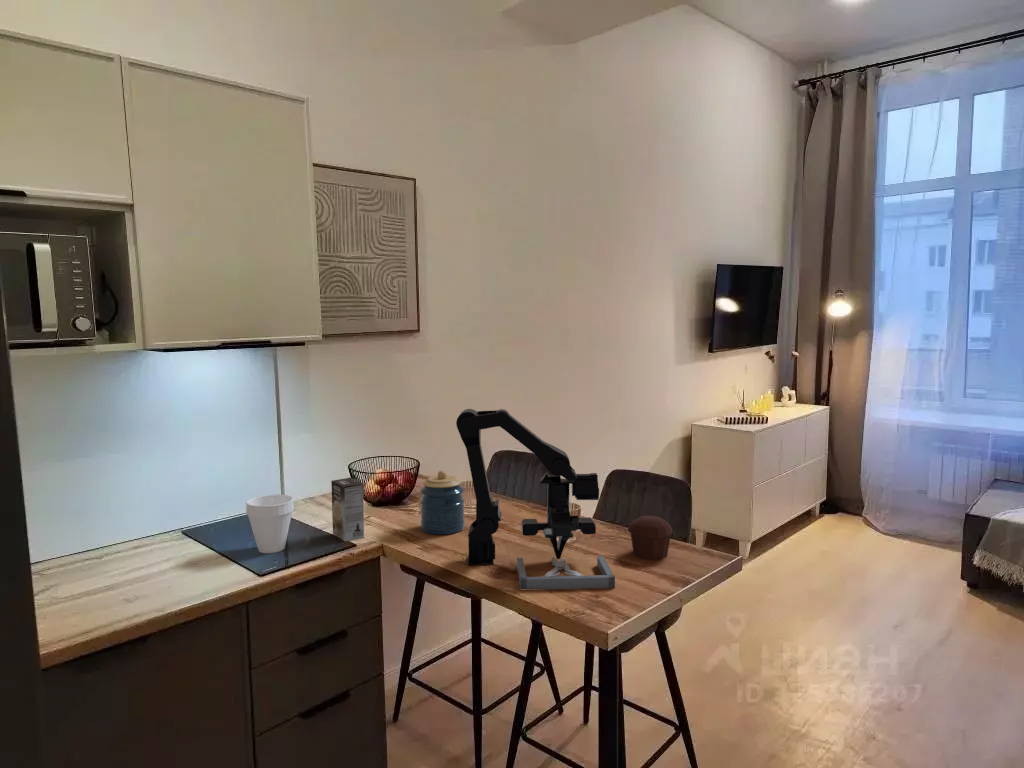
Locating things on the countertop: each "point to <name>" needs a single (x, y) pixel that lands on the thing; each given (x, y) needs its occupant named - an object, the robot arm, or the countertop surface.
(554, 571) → the pliers
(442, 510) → the canister
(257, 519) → the white flower pot
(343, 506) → the coffee box
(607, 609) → the countertop surface
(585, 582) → the tool holder
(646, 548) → the muffin
